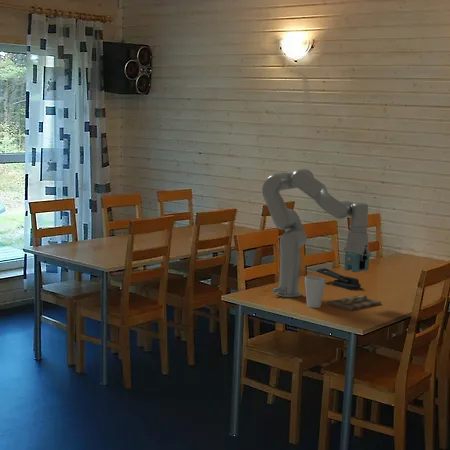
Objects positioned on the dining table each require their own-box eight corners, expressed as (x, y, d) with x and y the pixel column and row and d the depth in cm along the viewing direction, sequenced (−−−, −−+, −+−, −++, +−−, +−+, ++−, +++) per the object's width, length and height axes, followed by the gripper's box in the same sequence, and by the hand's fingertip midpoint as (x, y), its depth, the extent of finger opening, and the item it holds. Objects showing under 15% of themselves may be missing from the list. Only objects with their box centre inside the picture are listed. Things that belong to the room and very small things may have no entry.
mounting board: (349, 310, 323) (350, 304, 323) (327, 304, 334) (327, 297, 334) (381, 304, 337) (381, 297, 336) (358, 298, 348) (358, 291, 347)
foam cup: (327, 306, 330) (329, 278, 328) (316, 309, 323) (317, 281, 321) (310, 302, 336) (312, 275, 334) (299, 305, 329) (300, 278, 328)
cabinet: (353, 272, 327) (354, 255, 326) (343, 270, 332) (344, 253, 331) (368, 270, 334) (369, 253, 333) (358, 267, 339) (359, 251, 338)
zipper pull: (325, 267, 386) (363, 275, 368) (324, 279, 387) (363, 288, 369) (314, 269, 380) (353, 278, 362) (314, 281, 381) (352, 290, 363)
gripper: (339, 227, 335) (337, 265, 337) (367, 232, 322) (365, 272, 324) (349, 226, 339) (347, 263, 342) (378, 231, 326) (376, 270, 329)
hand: (356, 267), depth 333 cm, fingers closed on cabinet, 6 cm apart
